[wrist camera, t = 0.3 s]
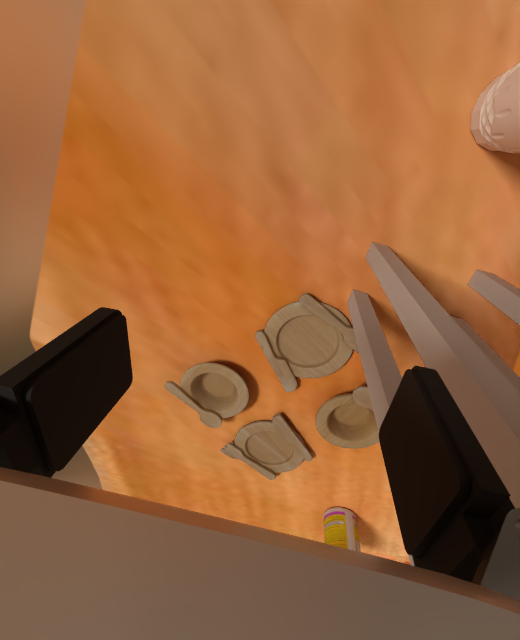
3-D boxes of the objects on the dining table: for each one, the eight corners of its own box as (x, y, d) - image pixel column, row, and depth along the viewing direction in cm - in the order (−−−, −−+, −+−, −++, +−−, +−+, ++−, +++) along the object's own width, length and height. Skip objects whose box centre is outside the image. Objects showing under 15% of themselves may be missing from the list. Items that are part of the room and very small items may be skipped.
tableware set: (258, 476, 62) (254, 495, 58) (158, 379, 53) (147, 394, 50) (427, 415, 48) (436, 436, 44) (329, 272, 40) (330, 282, 36)
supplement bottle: (317, 515, 64) (318, 590, 53) (335, 501, 61) (340, 577, 50) (344, 528, 65) (350, 604, 53) (363, 514, 61) (374, 593, 50)
